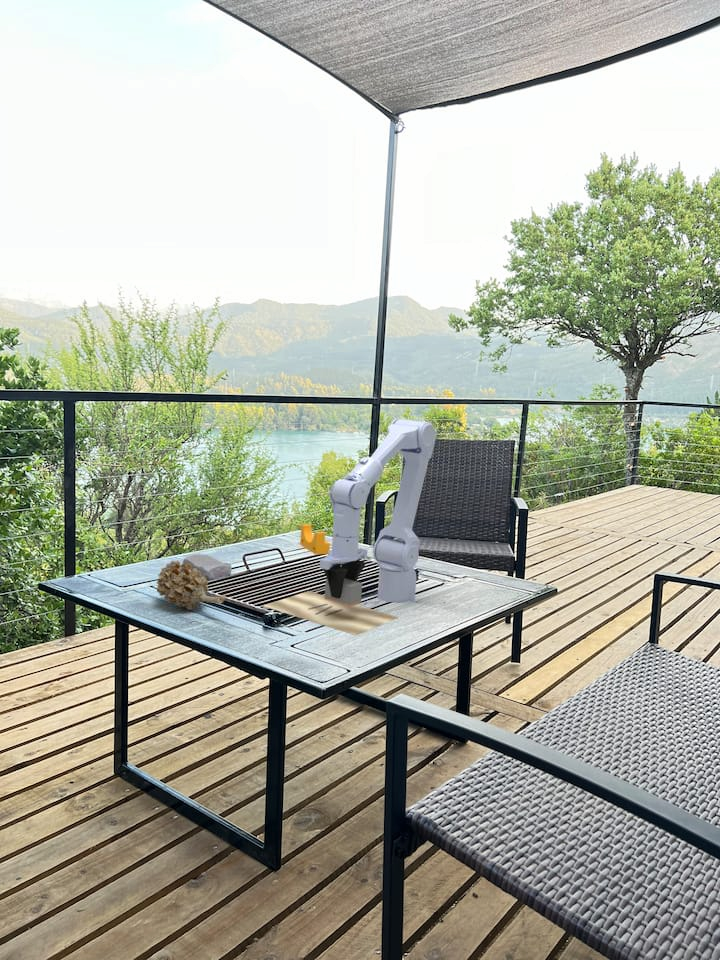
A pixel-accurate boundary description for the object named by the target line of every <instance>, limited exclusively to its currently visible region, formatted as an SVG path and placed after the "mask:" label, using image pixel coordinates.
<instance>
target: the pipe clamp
mask: <svg viewBox="0 0 720 960" xmlns="http://www.w3.org/2000/svg"><path fill="white" fill-rule="evenodd" d="M312 528H313V527H312V525H311V524H310V523H308V524H307V523H306V524H304V523H303V524H302V523H301V526H300V544H299V545H300V546H302V547H303V548H305V549H307V551H309V552H311V553H312V554H314V555H328V552H329V551H331V549H330V548H331V544H330V542H328V541H327V540H325V538H326V532H324V531H314V532H313V531H312Z"/></svg>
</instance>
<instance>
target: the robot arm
mask: <svg viewBox="0 0 720 960" xmlns="http://www.w3.org/2000/svg"><path fill="white" fill-rule="evenodd" d="M436 439H437V433H436V430H435V427H434V424H432V423H431V422H430V421H419V420H412V419H411V420H410V419H402V418H398V417H397V418H395V419H393V420H392V421H391V423H390V424H389V425H388V426H387V430H386V436H385V438H384V439H383V440H382V441H381V442H380V444H379V446H378V447H377V448H376V449H375V451H374V452H373V453H372V455H371V456H365V457H362V458H360V460H358V463H357V464H356V465H355V466H354V467H352V469H351V470H350V471H349V473H348V474H347V475H346V476H345V477H344V478H340V479H337V480H336V481H335V482H333V484H332V486H331V488H330V491H329V492H328V496H329V501H330V503H331V511H332V513H333V524H332V525H333V526H332V538H331V539H332V541H331V542H332V543H331V550H330V551H329V552H328V554H327V555H326V556H325V557H323V558H320V560H319V561H320V562H319V568H320V569H322V570H323V572H324V575H325V577H326V579H328V583H329V587H330V592H331V597H334V598H338V599H339V598H340V597H341V594H342V587H343V582H344V578H346V579H349V580H353V581H356V582H358V579H359V577H360V574H361V572H362V571H363V570H364V568H365V566H366V563H365V561H361V559H363V560H365V559H368V549H366V548H365V549H364V548H359V540H360V525H361V524H360V522H361V510H362V507H364V506H365V504H366V503H367V502H368V496H369V494H370V492H371V489H372V487H373V486H375V484H376V483H377V482H378V481H379V480H380V478H381V477H382V476H383V473H384V469H383V467H384V466H386V464H388V463H389V462H390V461H391V459H393V458H394V457H395V456H396V455H397V454H398V453H399V454H400V455H402V456H403V458H404V461H405V463H404V466H403V467H404V468H403V471H402V475H401V480H400V484H399V487H398V492H397V495H396V500H395V504H394V509H393V511H392V512H393V513H392V517H391V520H390V524H389V525H386V527H384V528H382V529H381V530H380V531H379V535H378V536H377V539H376V541H375V543H374V545H373V548H372V553H373V558H374V560H375V561H376V562H377V563H376V565H377V566H378V567H379V572H378V587H377V598H378V600H381V601H384V602H387V603H388V602H389V603H403V602H407V601H410V602H413V603H418V602H419V600H418V599H416V588H417V573H416V570H415V569H414V567H416V564H417V563H418V560H419V554H420V553H419V546H420V541H421V540H420V539H419V537H418V535H416V533H414V530H413V526H414V523H415V518H416V515H417V511H418V505H419V502H420V498H421V492H422V490H423V485H424V481H425V477H426V472H427V469H428V465H429V460H430V459H431V458H432V456H433V452H434V448H435V445H436V444H435V443H436ZM399 539H400V540H399ZM401 540H403V541H401Z"/></svg>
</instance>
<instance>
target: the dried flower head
mask: <svg viewBox="0 0 720 960" xmlns="http://www.w3.org/2000/svg"><path fill="white" fill-rule="evenodd" d="M160 570H161V571H160V572H159V574H157V577H158V579H157V581H156V583H157V587H156V592H157V593H158V594H159V596H164V598H163V599H164V601H166V602H167V603H168V604H172V603H173V604H174V606H175V607H177V606H178V607H179V608H182V607H184V606H185V608H186V609H187V611H188V610H192V611H193V609H194V608H195V607H196V606H198V607H199V606H200V605H201V603H203V602H209V603H212V604H213V603H214V604H224V602H225V600H226V595H225V594H222V595H221V596H210V595H207V594H208V592H209V587H208V582H209V580H206V578H205V577H203V576H201V573H200V571H197V569H196V568H194V569H193V570H192V568H191V565H190V563H189V564H187V563H186V562H184V563H183V562H182V563H181V562H180V561H179V560H176V561H174V560H171V561H170V563H167V564H165V567H162V568H161V569H160Z"/></svg>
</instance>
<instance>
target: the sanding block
mask: <svg viewBox="0 0 720 960" xmlns="http://www.w3.org/2000/svg"><path fill="white" fill-rule="evenodd" d="M362 589H363V583H362V582H360V581H357V582H356V581H353V580H349V579H346V578H344V582H343V587H342V594H341V597H340V598H339V599H338V598H334V597H331V592H330V587H329V583H328V579H327V578H326V579H325V586H324V596H325V600H329V601H332V602H335V603H339V604H342V605H345V606H349V607H351V606H354V605H359V604H362V593H363V592H362Z"/></svg>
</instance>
